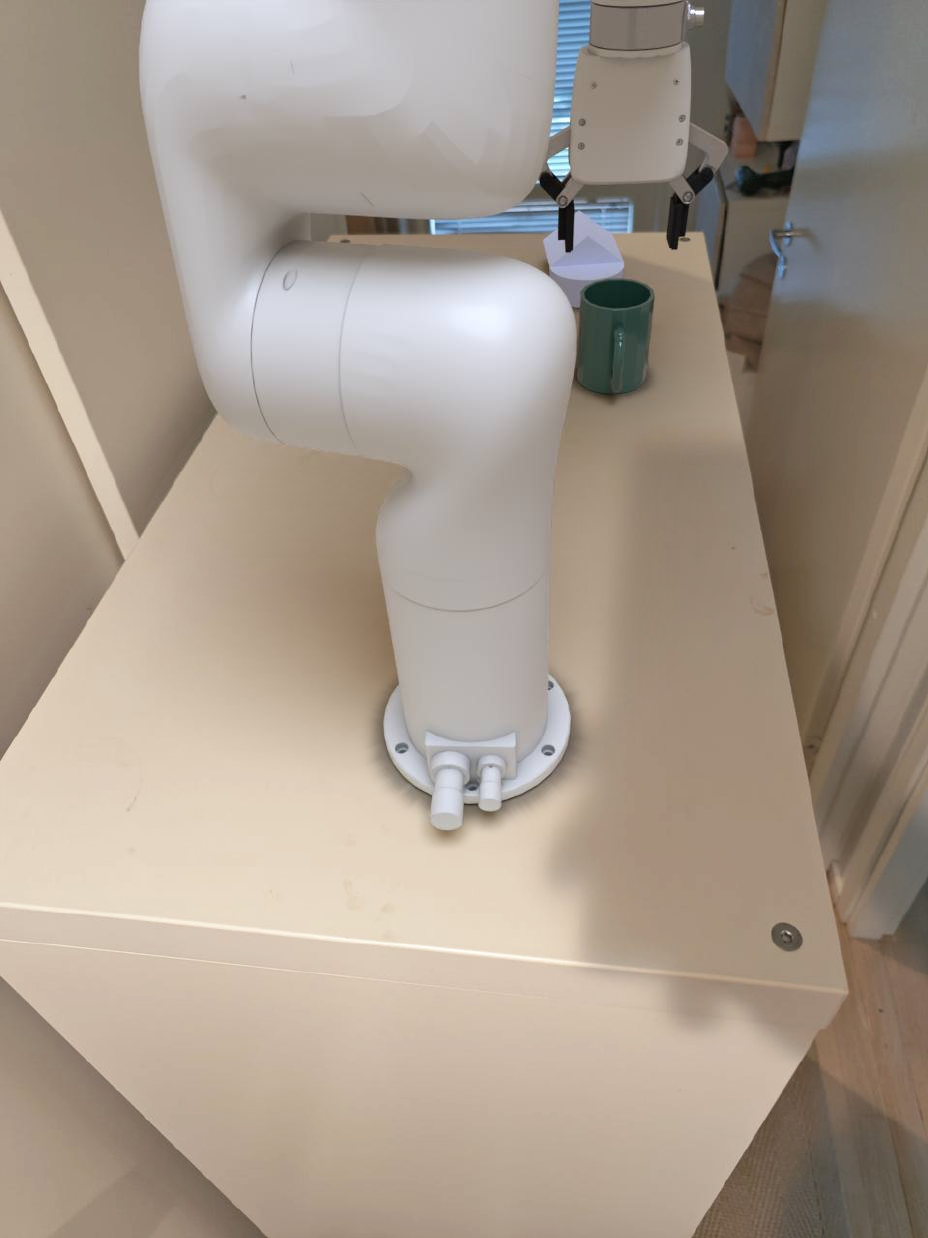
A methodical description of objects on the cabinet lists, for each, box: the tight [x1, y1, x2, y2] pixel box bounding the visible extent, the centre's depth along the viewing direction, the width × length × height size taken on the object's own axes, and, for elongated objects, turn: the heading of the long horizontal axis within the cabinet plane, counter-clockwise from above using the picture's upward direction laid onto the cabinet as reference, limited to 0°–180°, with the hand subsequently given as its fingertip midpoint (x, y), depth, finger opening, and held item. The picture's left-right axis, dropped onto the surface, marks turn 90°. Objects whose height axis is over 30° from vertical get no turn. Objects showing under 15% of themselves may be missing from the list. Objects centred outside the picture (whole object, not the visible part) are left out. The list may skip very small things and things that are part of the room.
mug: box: [576, 277, 656, 395], centre depth 86 cm, size 10×7×9 cm
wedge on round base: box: [542, 210, 625, 309], centre depth 104 cm, size 9×7×13 cm
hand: (619, 245), depth 80 cm, fingers open, 9 cm apart
